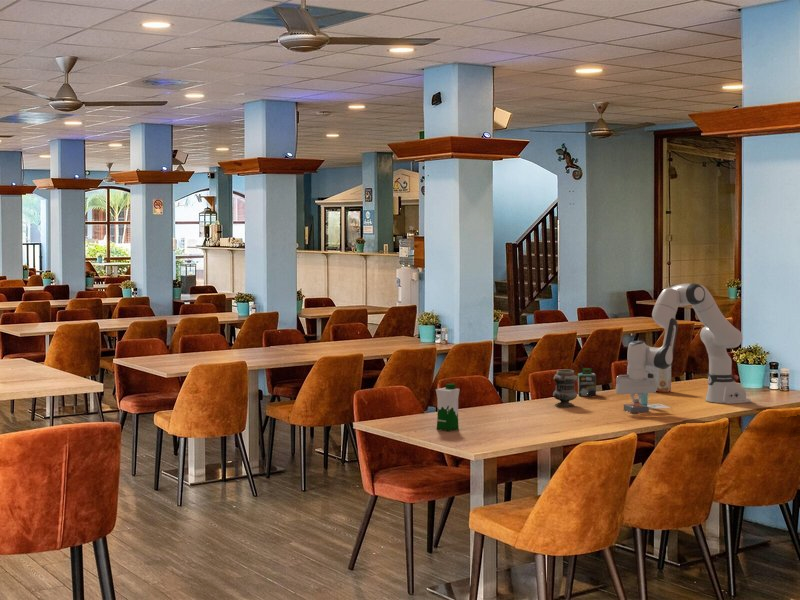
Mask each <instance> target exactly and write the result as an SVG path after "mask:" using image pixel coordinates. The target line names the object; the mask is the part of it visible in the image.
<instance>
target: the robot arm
mask: <svg viewBox="0 0 800 600" xmlns="http://www.w3.org/2000/svg"><path fill="white" fill-rule="evenodd" d="M679 306H680V307H686V306H691V307H692V309H693V310H694V312H695V314H696V316H697V318H698V319H699V322H700V323H701V324H702V325H703V327H702V328H701V330H700V333H699V338H700V340H701V342H702V343H703V344H704V346H705V349H706V353H707V355H708V374H707V376H708V377H707V383H708V385H707V393H706V397H705V401H706V402H710V403H711V402H712V403H716V404H728V405H731V404H733V405H734V404H743V403H751V399H750V398H748V397H747V391H746V389H745V388H744V387H743V386H741V385H740V384H739V383H738V382H736V380H738V379H739V376H738V375H737V374H735V375H734V374H732V371H733V370H732V366H733V365H732V363H733V362H732V358H731V356H730V355H729V353H728V351H727V349H735V348H737V347H739V346H740V345H741V344H742V342H743V333H742V332H741V330H739V328H736V327H735V326H734V325H733V324H731V322H729V320H728V319H727V318H726V317H725V316H724V315H723V313H722V311H721V310H720V308H719V306H718V305H717V302H716V301H715V298H714V297H713V295H712V294H711V292H710V291H709V289H708V288H707V287H706V286H704V285H701V284H698V283H680V284H673V285H669V286H668V287H667V288H664V289H663V290H662V291H661V292H660V294H659V296H658V297H657V299H656V302H655V304H654V306H653V308H652V312H651V317H652V319H653V321H654V323H655V324H656V325H657V326H659V327H661V329H664V337H663V343H662V346H661V347H656V346H655V347H653V346H650V345H647V344H646V342H645V341H644V340H633V341H631V342H629V343H628V346H627V358H626V359H627V367H626V368H627V369H626V371H627V372H626V374H619V375H617V376H616V378H615V383H616V384H615V393H616V394H618V395H629V396H630V398H631V399H632V402H633V403H639V402H640V398H641V396H642V393H648V394H656V393H657V392H656V391H657V382H656V380H655V379H654V378H655V377H656V375H655V374H653V373H650V372H648V371H646V367H645V366H649V367H657V368H660V369H667V368H668V367H669V366H670V365H671V366H672V364H673V361H674V351H675V350H674V349H675V344H676V339H677V334H678V327H679V325H678V321H677V319H676V315H677V312H678V308H679ZM635 394H636V395H637V397H635V396H636V395H635Z"/></svg>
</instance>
